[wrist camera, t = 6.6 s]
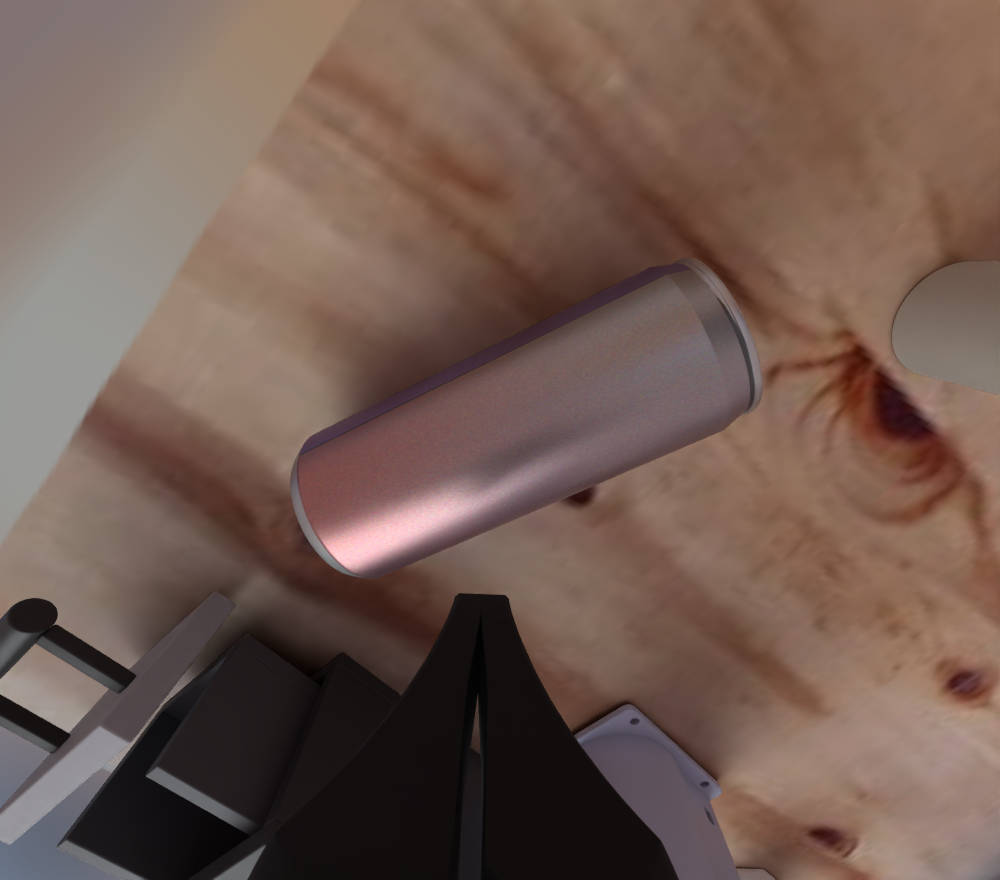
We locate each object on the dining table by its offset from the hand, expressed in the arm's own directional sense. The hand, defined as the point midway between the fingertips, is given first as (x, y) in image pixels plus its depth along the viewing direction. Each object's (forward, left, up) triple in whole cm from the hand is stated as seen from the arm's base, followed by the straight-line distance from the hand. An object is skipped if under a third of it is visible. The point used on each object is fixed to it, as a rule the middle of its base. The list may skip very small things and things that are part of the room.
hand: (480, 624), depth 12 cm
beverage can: (+4, +4, -6) cm, 8 cm away
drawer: (+2, +17, -8) cm, 19 cm away
